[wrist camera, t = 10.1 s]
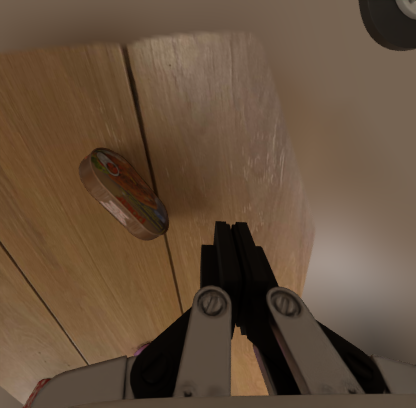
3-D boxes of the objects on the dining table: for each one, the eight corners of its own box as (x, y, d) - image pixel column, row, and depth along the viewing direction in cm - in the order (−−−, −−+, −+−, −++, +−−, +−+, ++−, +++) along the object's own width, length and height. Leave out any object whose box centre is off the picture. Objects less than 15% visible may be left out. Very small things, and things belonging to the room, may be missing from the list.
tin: (172, 214, 34) (165, 244, 27) (159, 223, 35) (148, 254, 27) (111, 141, 28) (80, 153, 21) (96, 153, 29) (60, 169, 21)
